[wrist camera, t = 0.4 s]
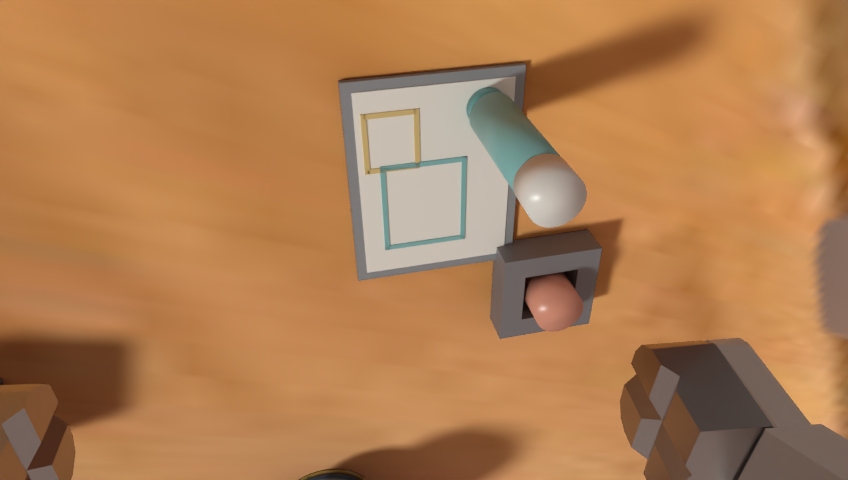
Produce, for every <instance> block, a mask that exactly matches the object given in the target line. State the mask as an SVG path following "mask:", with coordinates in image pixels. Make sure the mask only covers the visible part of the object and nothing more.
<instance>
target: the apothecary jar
mask: <svg viewBox="0 0 848 480" xmlns="http://www.w3.org/2000/svg"><path fill="white" fill-rule="evenodd" d="M300 480H363V477H362V476H360V475H359V474H357V473H355V472H352V471H348V470H340V469H332V470H323V471H319V472H315V473H312V474H309V475H307V476H305V477H303V478H301V479H300Z"/></svg>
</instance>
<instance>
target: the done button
mask: <svg viewBox="0 0 848 480" xmlns="http://www.w3.org/2000/svg"><path fill="white" fill-rule="evenodd" d="M524 300H525V301H526V303H527V305H528V307H529V309H530V311H531V313H532V314H533V316H534V318H535V320H536V322H537V324H538V325H539V327H540V328H542V329H543V330H546V331H560V330H563V329H566V328H568V327H570V326H571V325H573V324H574V323H575V322H576V321H577V320H578V319H579V317H580V316H581V314H582V312H583V307H584V306H583V301H582V300H581V298H580V296H579V295H578V293H577V292H576V290H575V289H574V287H573V286H572V284H571V283H570V281H569V280H568V278H567V277H566V275H565V273H564V272H558V273H552V274H546V275H540V276H533V277H527V278H525V289H524Z"/></svg>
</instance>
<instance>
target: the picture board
mask: <svg viewBox="0 0 848 480" xmlns="http://www.w3.org/2000/svg"><path fill="white" fill-rule="evenodd" d="M525 75H526V64H525V63H514V64H504V65H493V66H483V67H473V68H463V69H453V70H442V71H432V72H422V73H412V74H402V75H391V76H381V77H371V78H361V79H351V80H341V81H338V84H339V94H340V104H341V114H342V124H343V134H344V144H345V154H346V164H347V174H348V184H349V194H350V204H351V214H352V224H353V234H354V244H355V254H356V264H357V274H358V280H359V281H360V280H367V279H373V278H380V277H386V276H393V275H400V274H406V273H413V272H419V271H426V270H432V269H439V268H446V267H452V266H459V265H465V264H472V263H478V262H485V261H492V260H496V250H497V247H501V246H504V245H510V244H512V242H513V229H514V216H515V203H516V196H515V194H514V191H513V190H512V188H511V187H510V185H509V184H508V182H507V181H506V179H505V178H504V176H503V175H502V173H501V172H500V170H499V169H498V167H497V166H496V164H495V163H494V161H493V160H492V158H491V156H490V155H489V153H488V152H487V150H486V149H485V147H484V146H483V144H482V143H481V141H480V140H479V138H478V137H477V135H476V134H475V132H474V131H473V129H472V127H471V125H470V122H469V118H468V116H467V112H466V107H467V103H468V101H469V99H470V97H471V96H472V95H473V94H474V93H475V92H476V91H478V90H480V89H482V88H485V87H493V88H497V89H499V90H500V91H501V92H502V93H504V94H506V95H508V96H509V97H510V98H511V99H512V100H513V101H514V103H515V104H516V105H517V106H518V107H519V108H520V110H521V111H522V112H523V100H524V87H525Z"/></svg>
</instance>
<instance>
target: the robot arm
mask: <svg viewBox="0 0 848 480" xmlns="http://www.w3.org/2000/svg"><path fill="white" fill-rule="evenodd" d="M631 364H632V366H633V368H634V370H635V372H636V375H635V376H634V377H633V378H631V379H630V380H629V381H628V382H627V383H626V384H624V388H623V392H622V395H621V399H620V409H621V420H622V424H623V428H624V432H625V434H626V436H627V439H628V441H629V443H630V445H631V447H632V448H633V449H635V450H636V451H637V452H639V453H640V454H641V455H643V456H644V457H645V458H647V462H646V466H645V470H644V475H645V478H646V480H848V440H847V439H846V438H844V437H842V436H840V435H839V434H837V433H835V432H834V431H832V430H830V429H829V428H827V427H825V426H824V425H822V424H815V425H811V424H810V422H809V421H808V420H807V419H806V417H805V416H804V415H803V413H802V412H801V411H800V409H799V408H798V407H797V406H796V404H795V403H794V402H793V400H792V399H791V398H790V397H789V395H788V394H787V393H786V391H785V390H784V389H783V387H782V386H781V385H780V384H779V382H778V381H777V380H776V378H775V377H774V376H773V375H772V373H771V372H770V371H769V369H768V368H767V367H766V365H765V364H764V363H763V362H762V360H761V359H760V358H759V356H758V355H757V354H756V353H755V351H754V350H753V349H752V347H751V346H750V345H749V344H748V343H747V342H745V341H744V340H742V339H741V338H730V339H716V340H706V341H702V340H700V341H687V342H673V343H660V344H647V345H641V346H640V347H639V348H638V349H637V350H636V351H635V354H634V357H633V360H632V363H631ZM57 404H58V400H57V398H56V396H55V394H54V392H53V390H52V388H51V386H50V385H47V384H18V385H0V480H71V478H72V475H73V469H74V460H75V446H74V439H73V435H72V432H71V430H70V428H69V425H68V424H67V423H65V422H64V421H62V420H60V419H59V418H57V417H55V416H54V415H53V414H54V411H55V409H56V407H57Z"/></svg>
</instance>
